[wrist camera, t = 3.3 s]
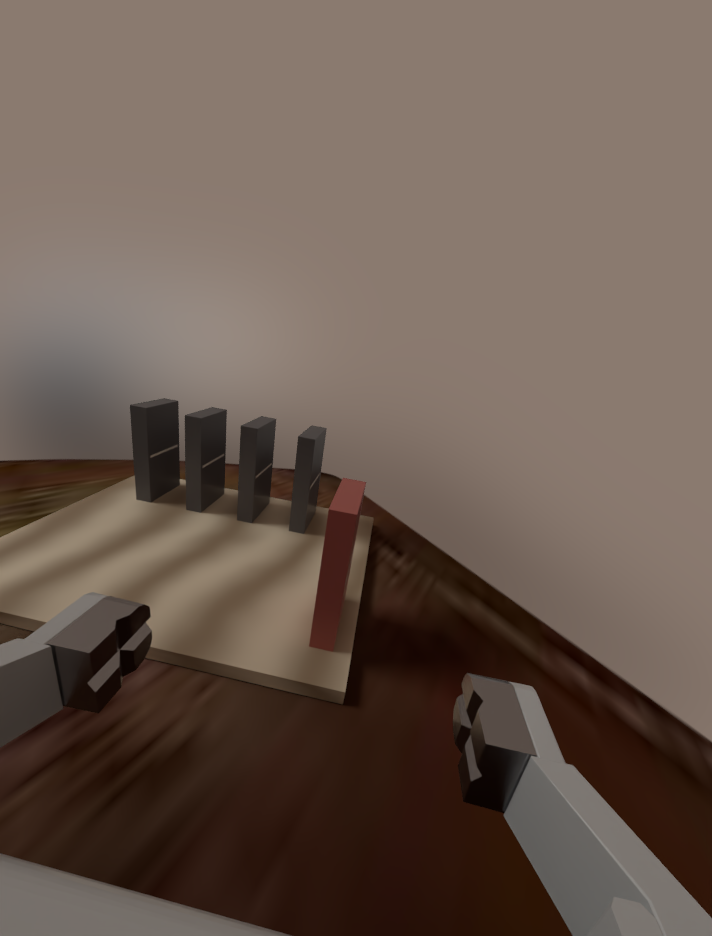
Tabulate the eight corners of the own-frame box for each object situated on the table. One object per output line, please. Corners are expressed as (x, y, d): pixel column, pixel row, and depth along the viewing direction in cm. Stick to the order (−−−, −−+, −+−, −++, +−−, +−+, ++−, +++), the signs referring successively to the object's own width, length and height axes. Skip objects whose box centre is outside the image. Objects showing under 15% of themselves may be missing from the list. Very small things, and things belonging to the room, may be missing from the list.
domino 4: (288, 530, 35) (298, 436, 31) (301, 509, 39) (311, 425, 36) (304, 534, 35) (315, 439, 31) (315, 512, 39) (326, 428, 36)
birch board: (-102, 599, 22) (-106, 586, 21) (143, 479, 42) (142, 471, 42) (342, 704, 20) (345, 692, 20) (372, 525, 41) (373, 517, 40)
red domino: (308, 646, 22) (328, 509, 19) (324, 594, 27) (342, 477, 23) (333, 652, 22) (357, 514, 19) (345, 599, 27) (366, 482, 23)
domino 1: (136, 499, 36) (129, 405, 32) (166, 482, 40) (164, 398, 37) (150, 502, 36) (145, 407, 32) (179, 485, 40) (178, 400, 37)
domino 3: (236, 520, 35) (240, 425, 32) (256, 500, 40) (261, 416, 36) (251, 523, 35) (257, 428, 32) (269, 503, 40) (276, 419, 36)
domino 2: (185, 509, 35) (184, 415, 32) (211, 491, 40) (212, 407, 37) (200, 512, 35) (201, 418, 32) (224, 494, 40) (226, 409, 37)
